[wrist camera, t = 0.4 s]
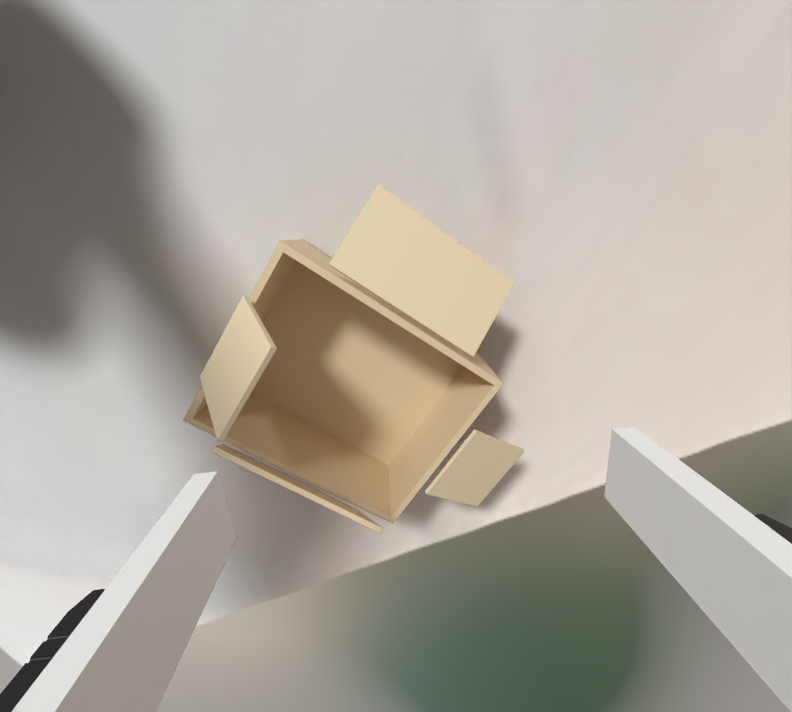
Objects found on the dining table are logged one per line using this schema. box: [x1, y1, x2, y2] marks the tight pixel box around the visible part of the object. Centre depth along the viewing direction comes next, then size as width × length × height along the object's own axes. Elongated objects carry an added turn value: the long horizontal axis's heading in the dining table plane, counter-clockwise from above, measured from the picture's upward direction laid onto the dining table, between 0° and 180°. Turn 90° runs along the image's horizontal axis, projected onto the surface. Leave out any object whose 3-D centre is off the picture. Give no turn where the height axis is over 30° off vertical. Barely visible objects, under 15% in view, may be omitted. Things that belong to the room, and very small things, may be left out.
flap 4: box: [425, 429, 525, 506], centre depth 36 cm, size 8×8×1 cm
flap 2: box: [211, 444, 383, 533], centre depth 30 cm, size 14×8×1 cm
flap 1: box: [200, 295, 277, 441], centre depth 27 cm, size 8×8×1 cm
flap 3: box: [329, 184, 515, 357], centre depth 30 cm, size 14×8×1 cm, turn 57°
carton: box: [183, 240, 504, 524], centre depth 36 cm, size 22×18×9 cm
